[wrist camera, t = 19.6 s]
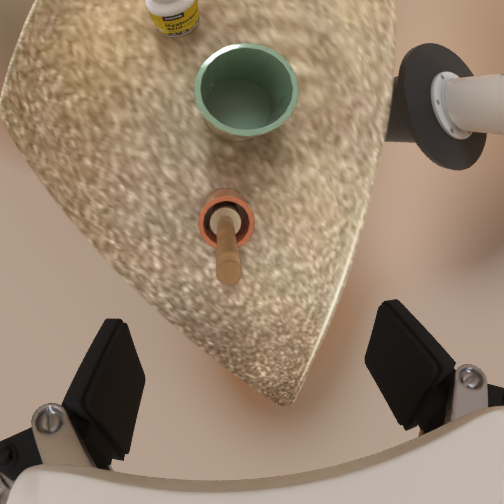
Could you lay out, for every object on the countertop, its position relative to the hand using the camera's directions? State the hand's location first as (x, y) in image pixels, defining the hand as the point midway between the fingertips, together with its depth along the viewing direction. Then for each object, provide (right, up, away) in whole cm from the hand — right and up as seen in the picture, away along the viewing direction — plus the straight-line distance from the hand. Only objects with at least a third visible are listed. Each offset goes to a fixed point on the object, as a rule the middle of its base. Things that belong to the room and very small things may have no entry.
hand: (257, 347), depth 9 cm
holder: (-3, +8, +24) cm, 25 cm away
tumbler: (-2, +20, +19) cm, 28 cm away
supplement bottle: (-9, +32, +14) cm, 36 cm away
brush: (-3, +8, +23) cm, 25 cm away
